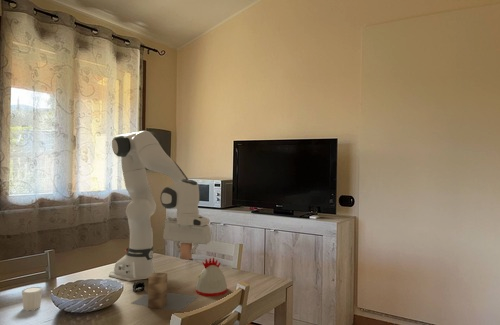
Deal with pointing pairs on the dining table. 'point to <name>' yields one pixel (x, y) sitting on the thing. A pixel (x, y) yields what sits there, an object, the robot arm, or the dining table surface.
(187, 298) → the mat
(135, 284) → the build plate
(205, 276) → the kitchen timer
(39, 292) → the white cylinder
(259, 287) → the dining table surface
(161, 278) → the block upper
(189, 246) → the drum
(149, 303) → the block lower
